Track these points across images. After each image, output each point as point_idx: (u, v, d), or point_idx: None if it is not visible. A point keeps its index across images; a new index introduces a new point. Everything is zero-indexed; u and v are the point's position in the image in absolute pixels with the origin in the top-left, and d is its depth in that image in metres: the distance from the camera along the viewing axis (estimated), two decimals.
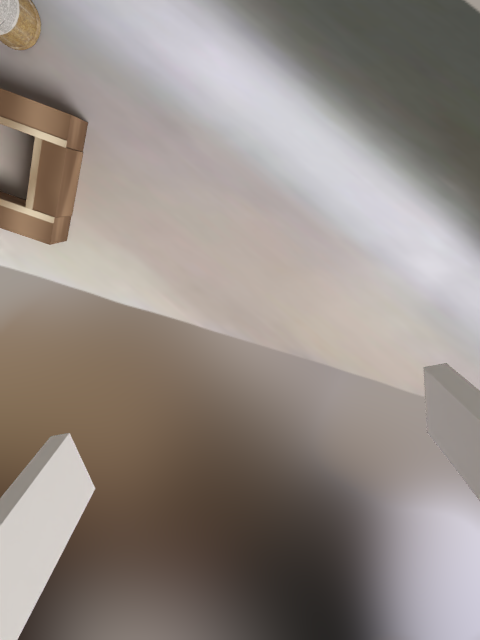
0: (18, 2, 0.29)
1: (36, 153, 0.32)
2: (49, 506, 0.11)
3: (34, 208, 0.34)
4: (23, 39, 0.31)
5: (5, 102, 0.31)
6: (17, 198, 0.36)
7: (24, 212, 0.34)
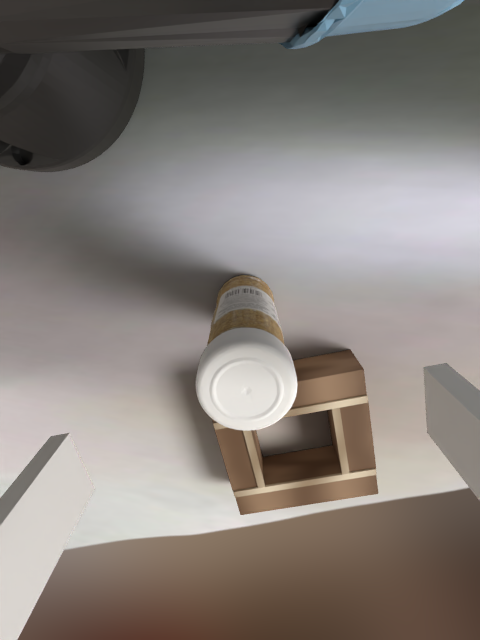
0: (272, 300, 0.24)
1: (338, 422, 0.27)
2: (49, 506, 0.11)
3: (351, 470, 0.29)
4: None
5: None
6: (305, 454, 0.32)
7: (341, 477, 0.29)
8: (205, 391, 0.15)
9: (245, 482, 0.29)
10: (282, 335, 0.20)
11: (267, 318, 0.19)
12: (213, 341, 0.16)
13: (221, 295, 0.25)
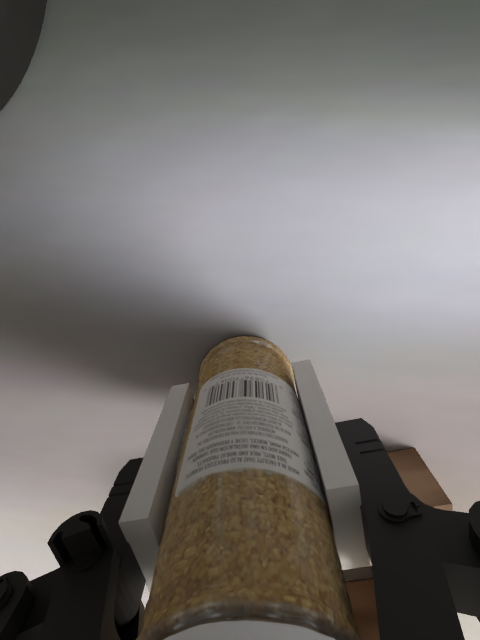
0: (295, 393, 0.13)
1: None
2: None
3: None
4: None
5: None
6: None
7: None
8: None
9: None
10: (330, 522, 0.09)
11: (299, 500, 0.08)
12: None
13: (203, 379, 0.14)
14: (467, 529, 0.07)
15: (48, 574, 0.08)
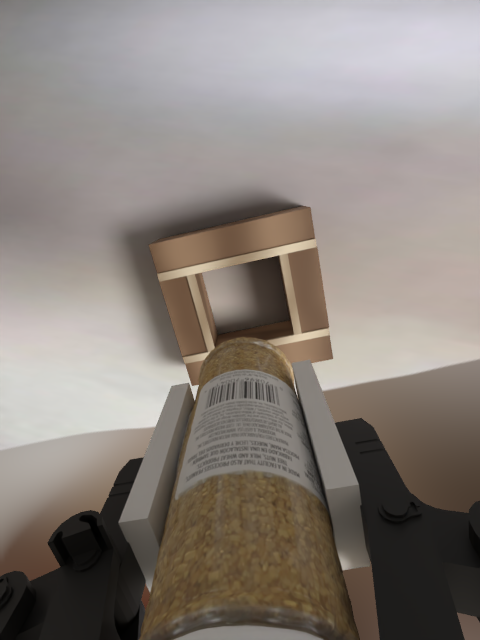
0: (295, 395, 0.13)
1: (287, 272, 0.26)
2: None
3: (303, 330, 0.28)
4: None
5: (234, 238, 0.25)
6: (260, 328, 0.31)
7: (293, 340, 0.28)
8: None
9: (194, 346, 0.28)
10: (331, 524, 0.09)
11: (300, 503, 0.08)
12: None
13: (204, 380, 0.14)
14: (467, 529, 0.07)
15: (48, 574, 0.08)
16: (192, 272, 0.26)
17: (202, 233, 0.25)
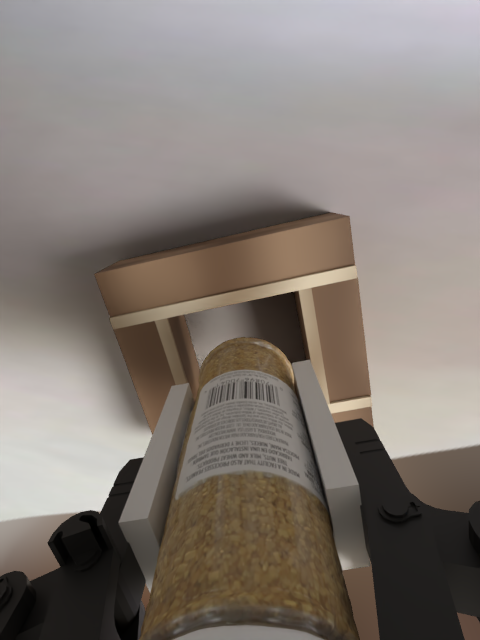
0: (296, 395, 0.13)
1: (310, 315, 0.17)
2: None
3: (332, 399, 0.19)
4: None
5: (228, 264, 0.16)
6: None
7: None
8: None
9: None
10: (331, 524, 0.09)
11: (300, 503, 0.08)
12: None
13: (204, 380, 0.14)
14: (467, 529, 0.07)
15: (48, 574, 0.08)
16: (163, 315, 0.17)
17: (177, 256, 0.16)
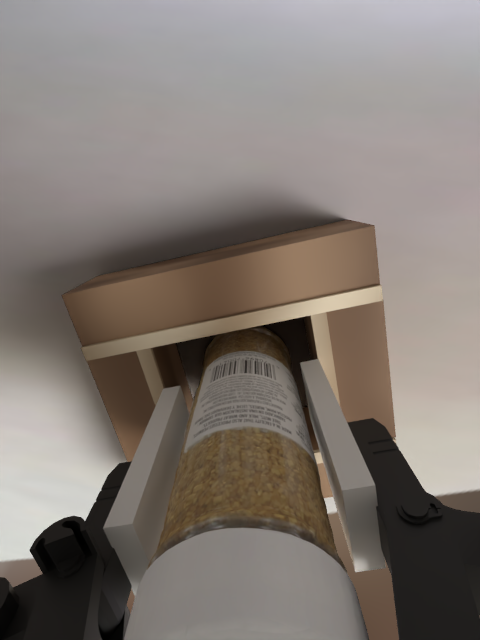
0: (291, 374, 0.15)
1: (324, 345, 0.14)
2: (177, 443, 0.13)
3: None
4: None
5: (225, 284, 0.13)
6: None
7: None
8: None
9: None
10: (318, 476, 0.10)
11: (291, 453, 0.09)
12: (164, 566, 0.06)
13: (208, 362, 0.15)
14: None
15: (32, 580, 0.08)
16: (146, 345, 0.14)
17: (163, 274, 0.13)
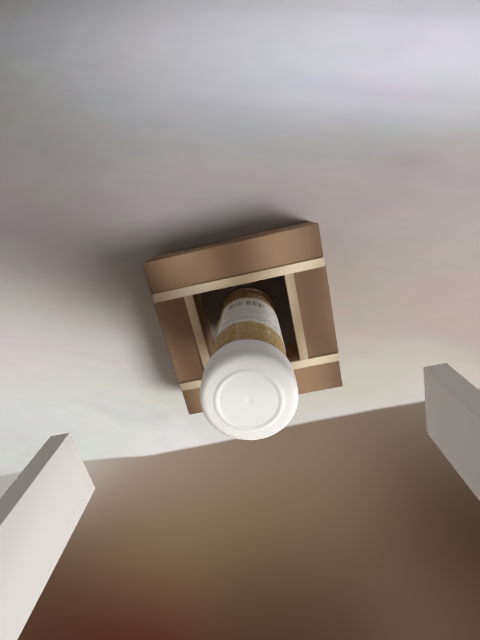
0: (274, 312, 0.25)
1: (292, 293, 0.24)
2: (49, 506, 0.11)
3: (310, 355, 0.26)
4: None
5: (235, 256, 0.23)
6: None
7: (299, 366, 0.26)
8: (209, 401, 0.16)
9: (192, 372, 0.26)
10: (284, 346, 0.20)
11: (269, 330, 0.19)
12: (217, 352, 0.16)
13: (225, 307, 0.26)
14: None
15: None
16: (190, 293, 0.24)
17: (201, 251, 0.23)
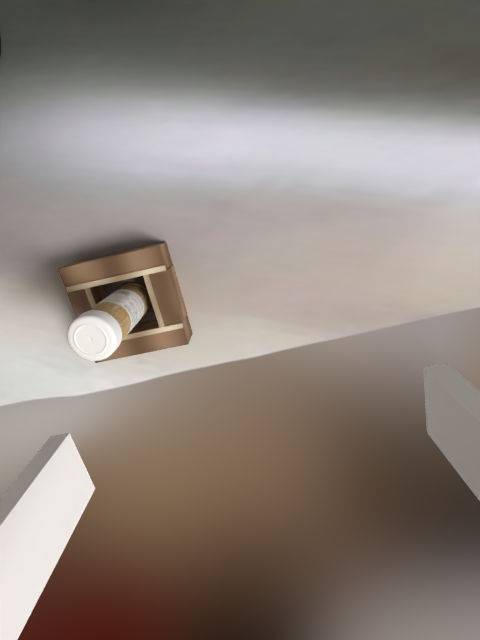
0: (140, 298, 0.41)
1: (149, 286, 0.40)
2: (49, 506, 0.11)
3: (165, 324, 0.42)
4: (146, 310, 0.43)
5: (113, 264, 0.39)
6: (145, 324, 0.45)
7: (160, 331, 0.42)
8: (71, 340, 0.32)
9: None
10: (129, 316, 0.36)
11: (117, 306, 0.35)
12: None
13: None
14: None
15: None
16: (87, 286, 0.40)
17: (92, 261, 0.39)
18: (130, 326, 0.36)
